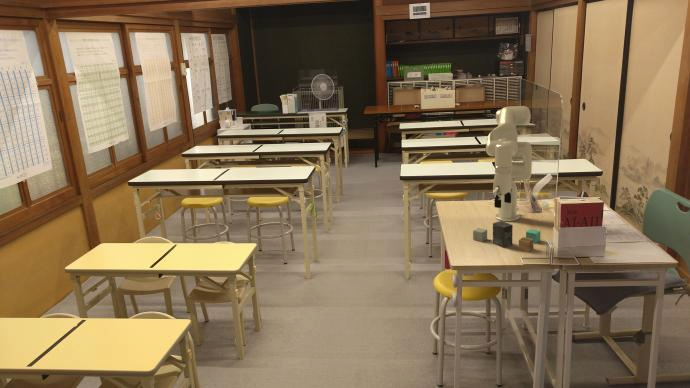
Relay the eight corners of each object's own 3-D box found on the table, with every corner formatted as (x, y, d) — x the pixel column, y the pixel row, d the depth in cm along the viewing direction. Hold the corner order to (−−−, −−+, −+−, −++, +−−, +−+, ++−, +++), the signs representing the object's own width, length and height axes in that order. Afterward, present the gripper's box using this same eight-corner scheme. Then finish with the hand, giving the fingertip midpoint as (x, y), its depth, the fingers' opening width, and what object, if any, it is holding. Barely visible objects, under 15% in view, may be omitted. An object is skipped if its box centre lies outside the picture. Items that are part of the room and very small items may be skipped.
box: (512, 245, 256) (512, 224, 253) (503, 248, 253) (503, 227, 251) (501, 240, 263) (501, 220, 260) (492, 243, 260) (492, 222, 257)
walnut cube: (523, 246, 253) (523, 237, 252) (533, 249, 250) (533, 239, 249) (518, 250, 250) (518, 240, 249) (528, 252, 246) (529, 242, 245)
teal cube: (530, 238, 263) (530, 229, 262) (540, 240, 260) (540, 230, 258) (525, 241, 259) (526, 231, 258) (535, 243, 256) (536, 233, 255)
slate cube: (478, 237, 269) (478, 227, 268) (487, 239, 266) (487, 229, 265) (473, 240, 266) (473, 230, 265) (482, 242, 263) (482, 232, 261)
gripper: (504, 165, 256) (504, 199, 261) (486, 172, 244) (486, 208, 249) (519, 167, 251) (518, 201, 256) (501, 174, 239) (501, 210, 244)
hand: (502, 205), depth 252 cm, fingers open, 9 cm apart
